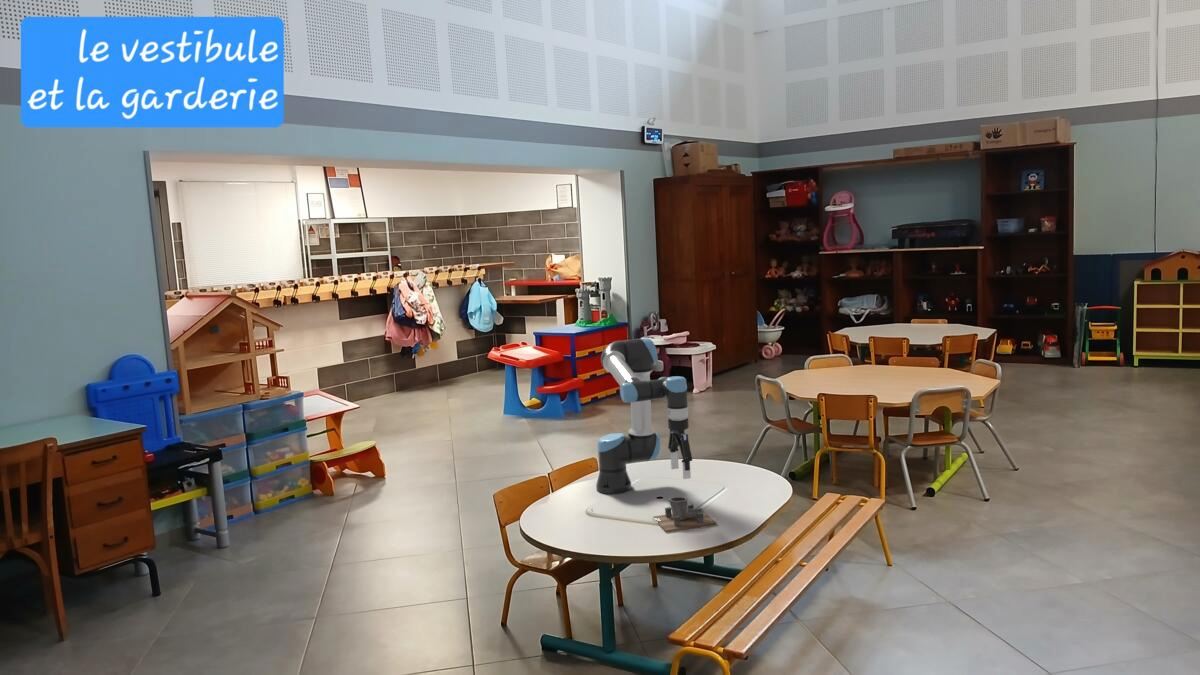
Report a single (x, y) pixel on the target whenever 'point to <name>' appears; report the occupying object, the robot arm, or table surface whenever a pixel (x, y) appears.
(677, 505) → the pipe
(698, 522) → the collar cradle
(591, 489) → the table surface
